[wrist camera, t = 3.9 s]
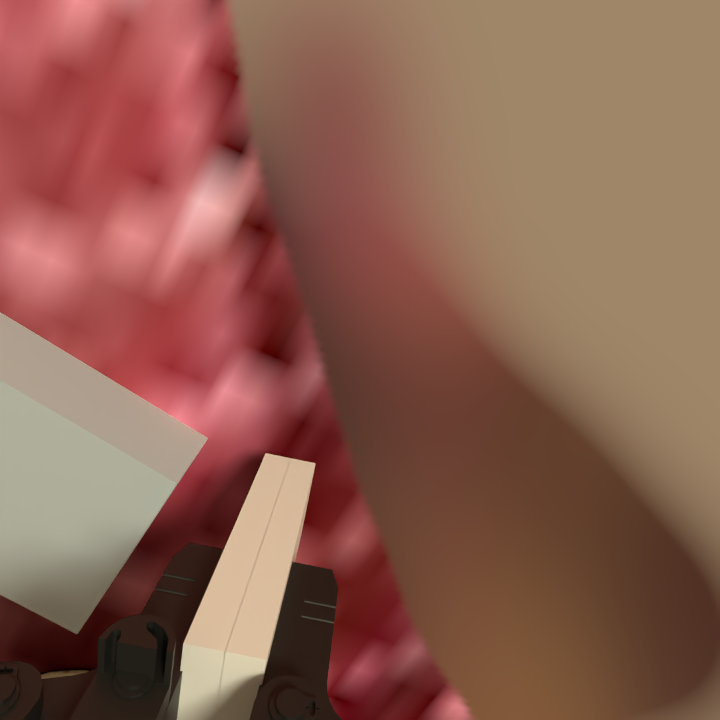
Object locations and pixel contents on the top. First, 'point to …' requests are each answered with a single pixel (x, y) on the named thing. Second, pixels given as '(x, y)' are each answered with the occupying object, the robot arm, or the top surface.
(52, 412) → the grey flat block
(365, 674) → the top surface
